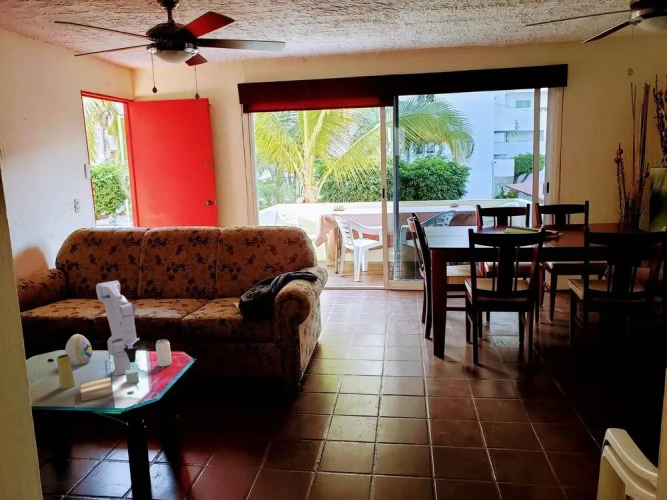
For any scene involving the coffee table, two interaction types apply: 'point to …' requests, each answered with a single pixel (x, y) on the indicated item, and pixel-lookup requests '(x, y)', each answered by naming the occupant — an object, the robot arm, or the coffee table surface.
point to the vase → (65, 371)
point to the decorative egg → (78, 349)
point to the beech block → (96, 388)
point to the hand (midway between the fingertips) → (132, 359)
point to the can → (163, 353)
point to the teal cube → (132, 376)
